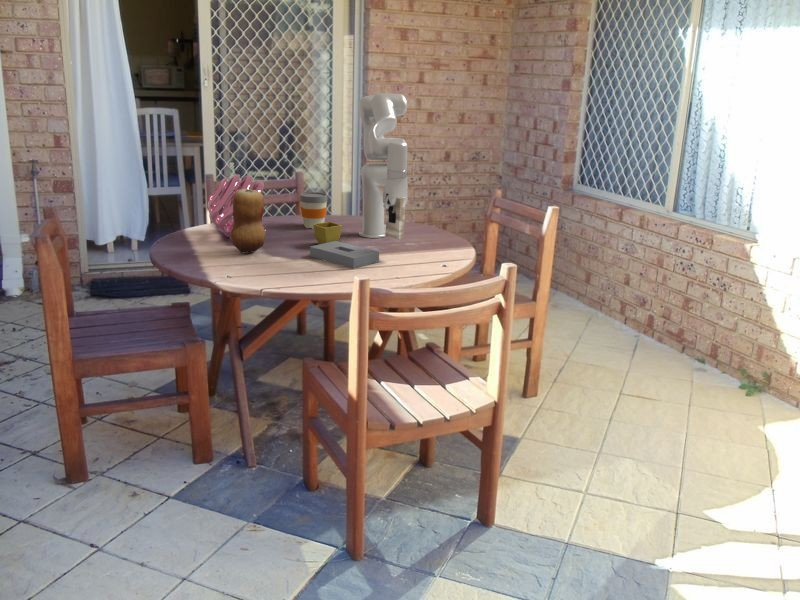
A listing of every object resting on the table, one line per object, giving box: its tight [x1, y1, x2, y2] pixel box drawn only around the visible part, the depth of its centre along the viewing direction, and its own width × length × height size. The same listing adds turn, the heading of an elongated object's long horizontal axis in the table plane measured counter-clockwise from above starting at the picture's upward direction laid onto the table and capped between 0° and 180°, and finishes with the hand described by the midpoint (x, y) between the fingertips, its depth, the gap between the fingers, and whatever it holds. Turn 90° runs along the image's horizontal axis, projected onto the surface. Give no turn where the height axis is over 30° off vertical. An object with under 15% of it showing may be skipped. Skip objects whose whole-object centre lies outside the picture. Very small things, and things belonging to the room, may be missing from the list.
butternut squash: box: [230, 188, 266, 253], centre depth 290 cm, size 14×13×25 cm
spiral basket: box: [207, 173, 267, 239], centre depth 314 cm, size 28×28×27 cm
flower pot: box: [313, 221, 342, 245], centre depth 305 cm, size 9×9×9 cm
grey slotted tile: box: [309, 241, 380, 269], centre depth 287 cm, size 14×24×4 cm, turn 49°
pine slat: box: [385, 197, 406, 240], centre depth 284 cm, size 3×7×16 cm, turn 49°
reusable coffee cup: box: [299, 191, 328, 230], centre depth 337 cm, size 13×13×15 cm
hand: (395, 221), depth 284 cm, fingers closed on pine slat, 3 cm apart
